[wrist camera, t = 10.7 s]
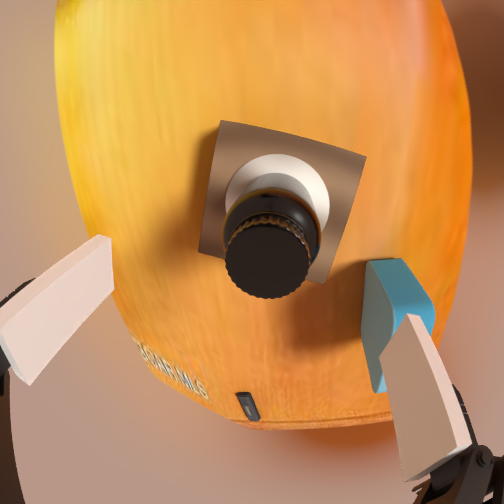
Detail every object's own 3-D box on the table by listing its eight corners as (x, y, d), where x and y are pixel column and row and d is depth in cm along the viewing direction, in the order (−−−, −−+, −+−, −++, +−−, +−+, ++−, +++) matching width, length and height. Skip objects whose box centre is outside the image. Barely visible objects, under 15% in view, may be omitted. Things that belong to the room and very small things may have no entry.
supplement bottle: (272, 252, 28) (257, 331, 17) (227, 201, 26) (180, 253, 15) (327, 213, 25) (350, 274, 15) (282, 156, 24) (273, 175, 13)
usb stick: (236, 390, 45) (235, 396, 44) (250, 389, 44) (249, 396, 43) (249, 416, 48) (248, 422, 47) (261, 416, 48) (260, 422, 46)
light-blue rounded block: (388, 329, 35) (410, 393, 24) (359, 332, 36) (373, 399, 25) (399, 253, 30) (439, 310, 19) (365, 256, 31) (394, 316, 20)
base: (230, 121, 27) (219, 119, 23) (357, 153, 26) (367, 156, 22) (208, 238, 33) (197, 253, 29) (321, 267, 32) (324, 285, 29)
